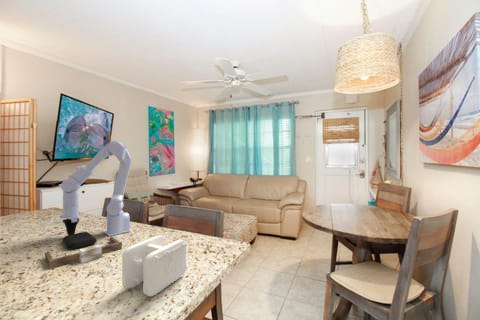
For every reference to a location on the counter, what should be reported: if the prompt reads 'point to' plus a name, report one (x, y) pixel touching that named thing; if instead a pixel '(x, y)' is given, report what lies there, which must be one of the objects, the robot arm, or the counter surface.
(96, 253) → the charging dock
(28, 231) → the counter surface
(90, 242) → the black rounded slab
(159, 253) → the cable organizer
